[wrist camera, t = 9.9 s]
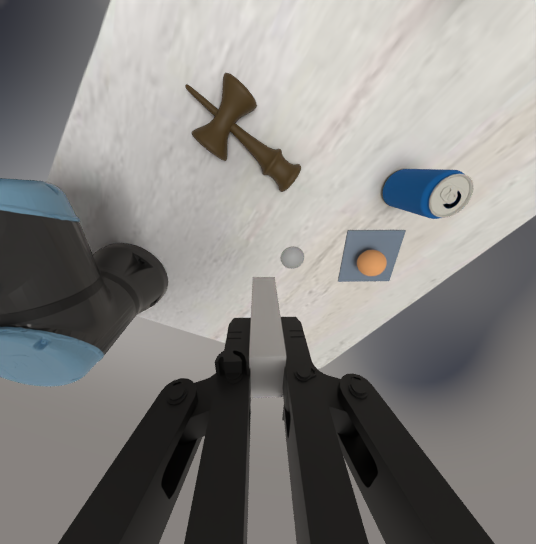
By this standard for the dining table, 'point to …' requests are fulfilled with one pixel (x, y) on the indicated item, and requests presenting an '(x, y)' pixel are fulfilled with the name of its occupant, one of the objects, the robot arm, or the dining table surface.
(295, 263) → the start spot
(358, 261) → the ball
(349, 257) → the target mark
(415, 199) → the beverage can
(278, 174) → the kendama
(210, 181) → the dining table surface
